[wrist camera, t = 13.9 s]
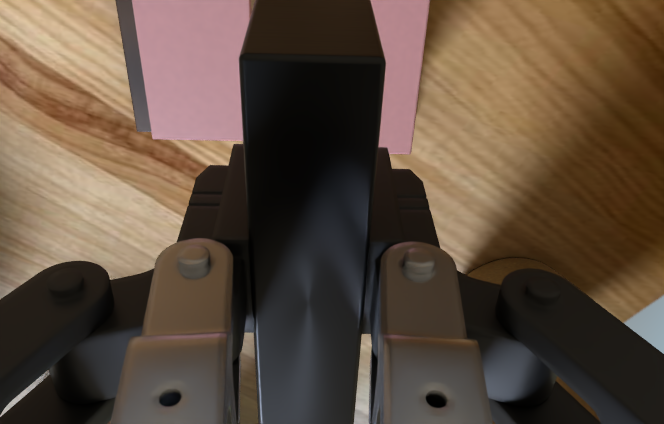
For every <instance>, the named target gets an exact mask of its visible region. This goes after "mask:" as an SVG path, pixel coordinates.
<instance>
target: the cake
mask: <svg viewBox="0 0 664 424" xmlns="http://www.w3.org/2000/svg"><path fill="white" fill-rule="evenodd" d="M254 2H255V0H132V5H133V11H134V18H135V25H136V31H137V38H138V45H139V51H140V58H141V65H142V72H143V78H144V85H145V92H146V98H147V105H148V112H149V118H150V125H151V132H152V138H153V139H174V140H219V141H243V129H242V111H241V93H240V75H239V56H240V52H241V49H242V45H243V42H244V38H245V34H246V31H247V27H248V24H249V20H250V17H251V13H252V9H253V6H254Z"/></svg>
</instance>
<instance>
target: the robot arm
mask: <svg viewBox="0 0 664 424" xmlns="http://www.w3.org/2000/svg"><path fill="white" fill-rule="evenodd" d="M244 332H254V329H253V310H252V292H251V274H250V256H249V238H248V220H247V202H246V183H245V165H244V147H243V144H234V145H233V149H232V153H231V157H230V162H229V166H223V165H210V166H209V167H207V168H206V169H205V170H204V171H203V172H202V173H201V174H200V175H199V176H198V177H197V178H196V181H195V184H194V188H193V191H192V194H191V197H190V201H189V206H188V207H187V211H186V214H185V217H184V220H183V224H182V227H181V230H180V233H179V237H178V240H177V243H175V244H173V245H171V246H169V247H167V248H166V249H165V250H164V251H162V253H161V254H160V255H159V256H158V258H157V260H156V263H155V268H154V269H152V270H149V271H147V272H144V273H141V274H137V275H133V276H128V277H123V278H118V279H113V280H110V279H109V275H108V273H107V271H106V270H105V269H104V268H103V267H101V266H99V265H98V264H95V263H92V262H87V261H71V262H64V263H60V264H57V265H54V266H51V267H49V268H47V269H45V270H43V271H41V272H40V273H38V274H37V275H35V276H34V277H32V278H31V279H29V280H28V281H27V282H25V283H24V284H22V285H21V286H19V287H18V288H16V289H15V290H14V291H12V292H11V293H9V294H8V295H6V296H5V297H4V298H2V299H1V300H0V415H1V413H2V411H3V410H4V408H5V407H6V406H7V405H8V404H9V403H10V402H11V401H12V400H13V399H14V398H15V397H16V396H18V395H19V394H20V393H21V392H22V391H23V390H25V389H26V388H27V387H28V386H29V385H30V384H32V383H33V382H34V381H35V380H36V379H38V378H39V377H40V376H41V375H42V374H43V373H45V372H46V371H47V370H48V369H49V372H50V375H49V376H48V377H47V378H45V379H44V380H43V381H42V382H41V383H40V384H38V385H37V386H36V387H35V388H34V389H33V390H31V391H30V392H29V393H28V394H27V395H26V396H25V397H23V398H22V399H21V400H20V401H19V402H18V403H16V404H15V405H14V406H13V407H12V408H11V409H9V410H8V411H7V412H6V413H5V414H4V415H2V416H1V417H0V424H107V423H108V422H109V421H110V420H111V422H110V424H240V378H241V359H240V352H241V350H242V346H243V339H244ZM362 334H371V340H372V350H371V360H370V392H369V424H493V421H494V422H495V423H496V424H664V354H663V353H662V352H660V351H659V350H658V349H656V348H655V347H654V346H652V345H651V344H650V343H648V342H647V341H646V340H645V339H643V338H642V337H640V336H639V335H638V334H637V333H635V332H634V331H633V330H631V329H630V328H629V327H628V326H626V325H625V324H624V323H622V322H621V321H620V320H618V319H617V318H616V317H614V316H613V315H612V314H611V313H609V312H608V311H607V310H605V309H604V308H603V307H601V306H600V305H599V304H598V303H596V302H595V301H594V300H592V299H591V298H590V297H588V296H587V295H586V294H584V293H583V292H582V291H581V290H579V289H578V288H577V287H575V286H574V285H573V284H571V283H570V282H569V281H567V280H566V279H564V278H563V277H561V276H559V275H557V274H554V273H552V272H549V271H545V270H541V269H533V268H525V269H518V270H515V271H513V272H511V273H509V274H508V275H506V276H505V278H504V279H503V281H502V284H501V285H499V284H495V283H491V282H487V281H483V280H479V279H475V278H472V277H469V276H467V275H465V274H463V273H461V272H459V271H457V269H456V265H455V262H454V260H453V259H452V258H451V256H450V255H449V254H447V253H446V252H445V251H443V250H442V249H440V245H439V241H438V238H437V234H436V230H435V226H434V223H433V219H432V215H431V211H430V210H429V204H428V200H427V199H426V193H425V189H424V185H423V182H422V181H421V180H420V179H419V178H418V177H417V176H416V175H415V174H414V173H413V172H412V171H411V170H410V169H392V167H391V162H390V157H389V152H388V148H387V147H378V158H377V169H376V180H375V191H374V202H373V213H372V225H371V236H370V247H369V258H368V269H367V280H366V291H365V302H364V313H363V324H362ZM557 376H558V377H559V378H560V379H561V380H562V381H563V382H565V383H566V384H567V385H568V386H569V387H570V388H571V389H572V390H573V391H574V392H575V393H576V394H578V395H579V396H580V397H581V398H582V399H583V400H584V401H585V402H586V403H587V404H588V405H589V406H590V407H591V408H592V409H593V410H594V411H595V413H596V414H597V416H598V418H599V420H600V421H599V420H597V419H596V418H595V417H594V416H593V415H592V414H591V413H590V412H589V411H588V410H587V409H586V408H585V407H584V406H582V405H581V404H580V403H579V402H578V401H577V400H576V399H575V398H574V397H573V396H572V395H571V394H570V393H568V392H567V391H566V390H565V389H564V388H563V387H562V386H561V385H560V384H559V383H558V382H557V381H556V378H557ZM492 420H493V421H492Z"/></svg>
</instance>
